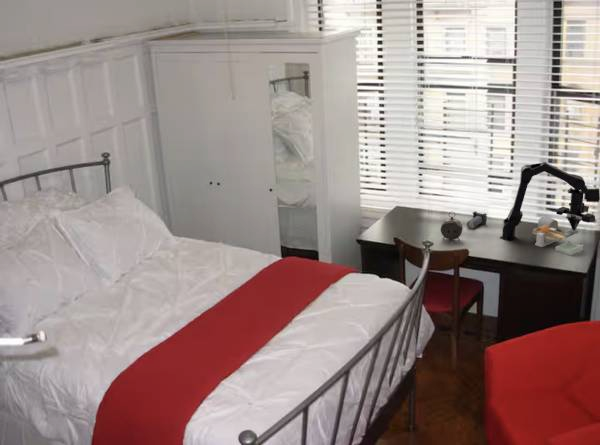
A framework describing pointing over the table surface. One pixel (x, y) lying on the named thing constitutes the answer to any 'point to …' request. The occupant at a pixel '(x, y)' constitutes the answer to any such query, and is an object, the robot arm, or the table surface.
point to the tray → (569, 248)
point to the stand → (541, 241)
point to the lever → (553, 234)
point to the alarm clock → (451, 228)
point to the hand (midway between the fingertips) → (574, 230)
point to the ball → (544, 228)
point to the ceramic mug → (548, 222)
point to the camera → (477, 220)
